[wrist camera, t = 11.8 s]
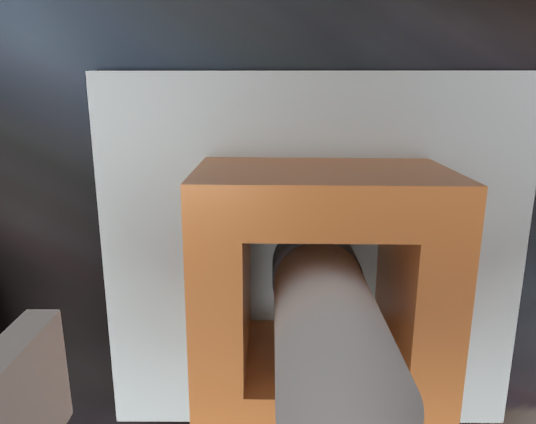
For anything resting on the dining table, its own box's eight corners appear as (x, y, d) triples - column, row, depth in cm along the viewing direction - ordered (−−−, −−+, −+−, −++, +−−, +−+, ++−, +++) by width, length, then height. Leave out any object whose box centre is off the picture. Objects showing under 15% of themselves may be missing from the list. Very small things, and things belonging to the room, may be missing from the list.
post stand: (95, 71, 18) (-111, 56, 8) (536, 71, 18) (852, 55, 8) (123, 405, 21) (1, 671, 12) (492, 407, 21) (676, 676, 12)
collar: (205, 157, 18) (180, 184, 13) (428, 158, 18) (487, 186, 13) (210, 356, 20) (190, 445, 15) (411, 358, 20) (456, 447, 15)
